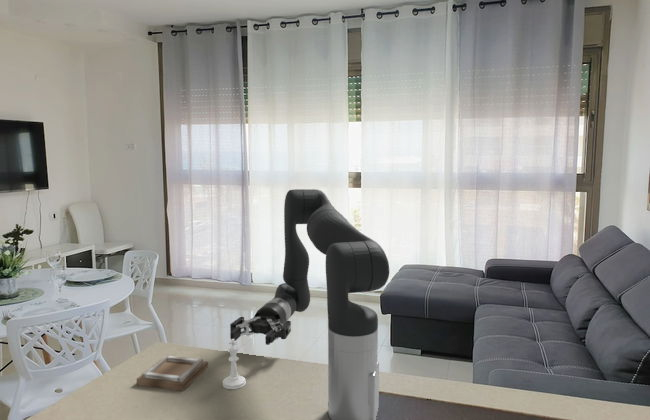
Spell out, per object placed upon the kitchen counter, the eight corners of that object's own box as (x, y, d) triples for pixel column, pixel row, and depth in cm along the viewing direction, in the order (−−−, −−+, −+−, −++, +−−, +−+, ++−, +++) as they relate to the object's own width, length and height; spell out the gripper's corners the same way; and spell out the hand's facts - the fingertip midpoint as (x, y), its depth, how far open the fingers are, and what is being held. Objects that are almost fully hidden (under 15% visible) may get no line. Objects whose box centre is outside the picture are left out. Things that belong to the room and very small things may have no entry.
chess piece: (240, 390, 100) (239, 344, 99) (218, 388, 101) (217, 342, 100) (249, 379, 105) (248, 335, 104) (228, 377, 106) (226, 334, 105)
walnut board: (208, 367, 111) (207, 358, 110) (183, 391, 100) (182, 380, 100) (165, 363, 113) (165, 353, 113) (137, 385, 103) (136, 374, 102)
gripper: (248, 300, 128) (220, 321, 112) (299, 303, 124) (278, 326, 109) (248, 327, 129) (221, 351, 113) (299, 331, 125) (279, 357, 110)
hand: (249, 339), depth 111 cm, fingers open, 8 cm apart
